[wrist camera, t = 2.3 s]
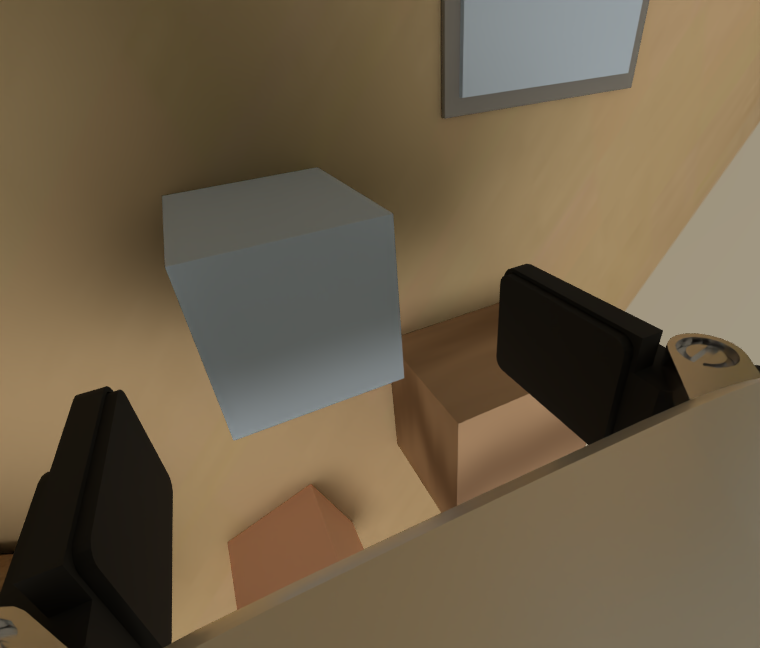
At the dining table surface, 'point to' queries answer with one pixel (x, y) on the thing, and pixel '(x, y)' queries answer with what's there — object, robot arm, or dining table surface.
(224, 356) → the slate block
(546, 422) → the walnut block
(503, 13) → the swatch
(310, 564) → the terracotta block
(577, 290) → the robot arm
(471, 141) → the dining table surface
